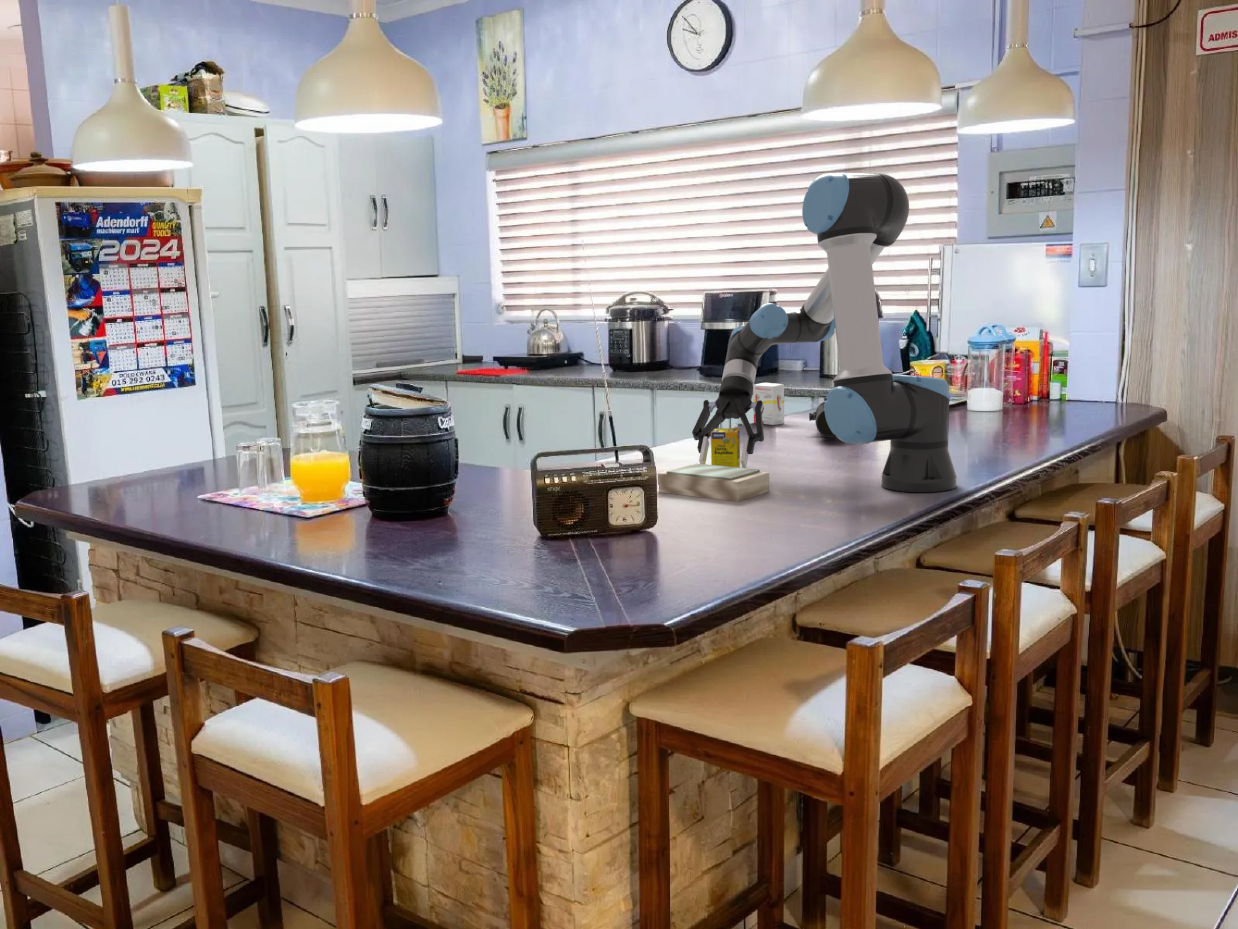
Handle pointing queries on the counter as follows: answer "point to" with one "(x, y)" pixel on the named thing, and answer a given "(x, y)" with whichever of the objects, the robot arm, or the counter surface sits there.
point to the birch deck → (714, 482)
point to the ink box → (770, 402)
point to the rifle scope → (821, 421)
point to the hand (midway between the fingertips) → (722, 464)
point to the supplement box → (725, 447)
